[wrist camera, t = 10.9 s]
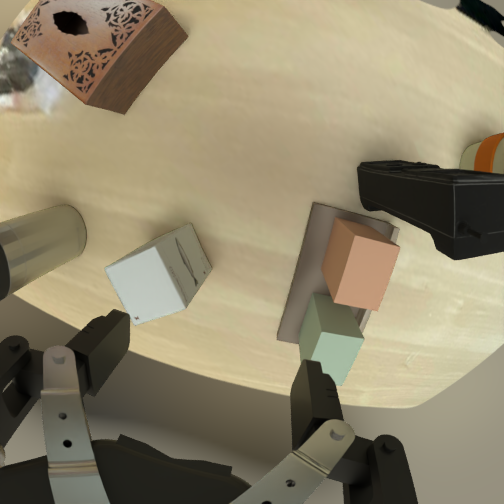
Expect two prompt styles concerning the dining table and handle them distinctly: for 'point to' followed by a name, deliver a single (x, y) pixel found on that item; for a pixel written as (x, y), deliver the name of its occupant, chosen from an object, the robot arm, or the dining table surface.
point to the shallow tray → (310, 265)
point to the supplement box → (160, 275)
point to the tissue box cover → (100, 46)
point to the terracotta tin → (358, 264)
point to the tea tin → (330, 336)
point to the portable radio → (439, 203)
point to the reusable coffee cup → (485, 155)
